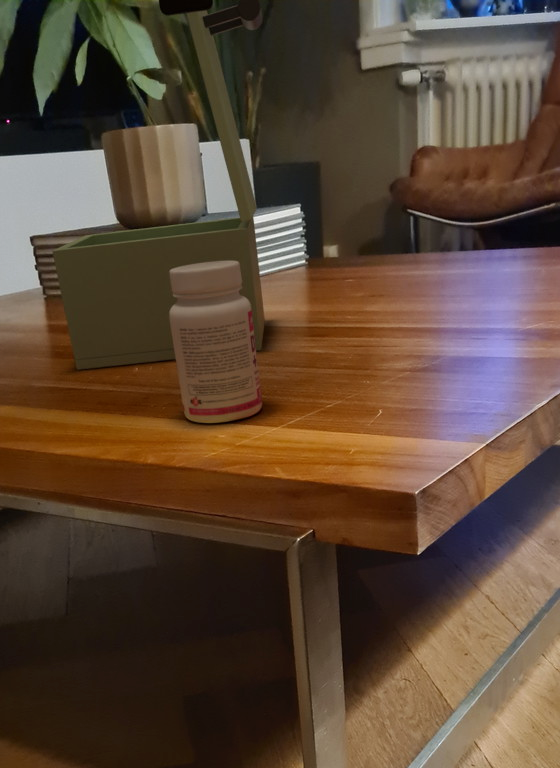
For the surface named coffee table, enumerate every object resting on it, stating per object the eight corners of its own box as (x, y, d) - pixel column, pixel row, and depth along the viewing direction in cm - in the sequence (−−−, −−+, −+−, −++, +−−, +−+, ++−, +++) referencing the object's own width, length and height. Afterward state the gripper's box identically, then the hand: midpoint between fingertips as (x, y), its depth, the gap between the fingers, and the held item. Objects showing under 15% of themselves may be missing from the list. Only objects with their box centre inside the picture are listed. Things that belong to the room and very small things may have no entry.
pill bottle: (278, 411, 54) (261, 260, 50) (207, 429, 52) (184, 274, 48) (239, 398, 58) (220, 257, 54) (171, 415, 56) (148, 270, 52)
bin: (76, 370, 72) (51, 250, 68) (105, 339, 83) (85, 235, 79) (261, 350, 71) (247, 228, 67) (264, 322, 82) (253, 215, 78)
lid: (176, -25, 60) (248, -48, 59) (193, 1, 71) (254, -18, 70) (241, 222, 67) (306, 204, 66) (248, 211, 78) (303, 195, 77)
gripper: (76, -335, 51) (134, 28, 59) (-10, -544, 35) (84, -15, 43) (210, -356, 50) (250, 12, 58) (181, -577, 35) (241, -37, 43)
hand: (179, 0), depth 51 cm, fingers open, 9 cm apart
